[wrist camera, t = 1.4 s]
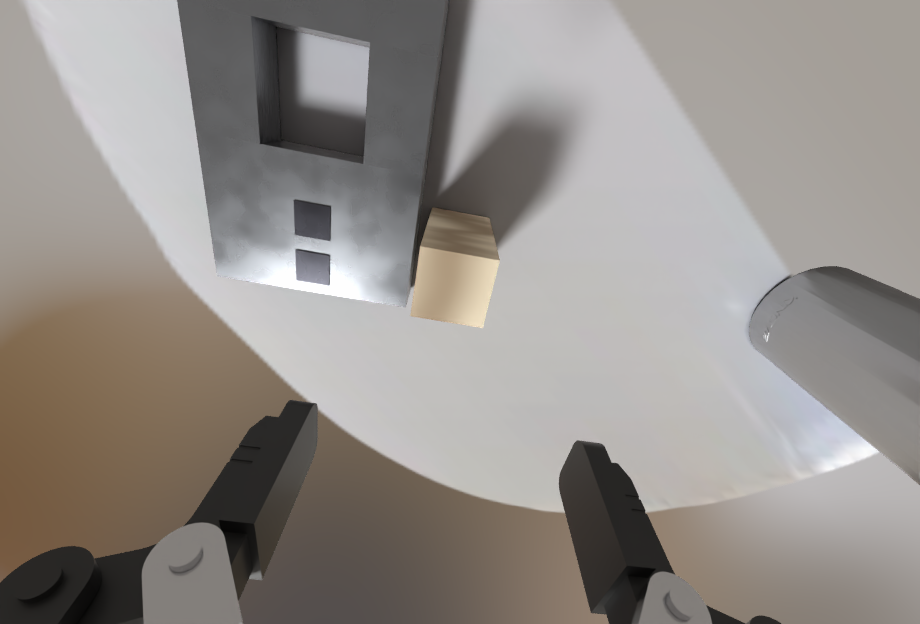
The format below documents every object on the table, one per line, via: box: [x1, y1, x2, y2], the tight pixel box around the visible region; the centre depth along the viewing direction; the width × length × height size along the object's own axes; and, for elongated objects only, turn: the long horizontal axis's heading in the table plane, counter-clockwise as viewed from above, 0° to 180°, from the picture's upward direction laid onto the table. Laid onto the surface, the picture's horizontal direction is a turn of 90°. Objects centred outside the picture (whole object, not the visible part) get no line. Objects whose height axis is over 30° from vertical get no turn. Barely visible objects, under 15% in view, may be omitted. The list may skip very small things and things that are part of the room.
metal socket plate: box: [177, 0, 449, 307], centre depth 24 cm, size 14×20×3 cm
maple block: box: [411, 207, 500, 328], centre depth 25 cm, size 4×4×9 cm
